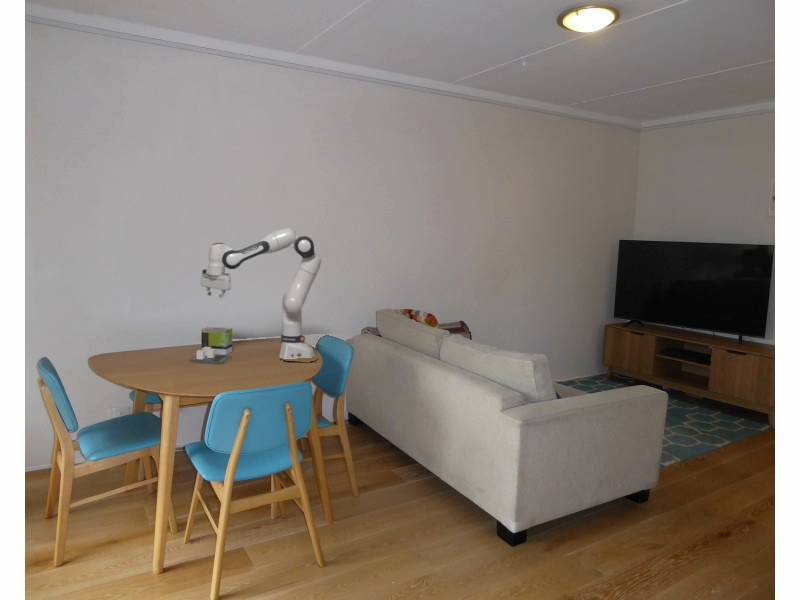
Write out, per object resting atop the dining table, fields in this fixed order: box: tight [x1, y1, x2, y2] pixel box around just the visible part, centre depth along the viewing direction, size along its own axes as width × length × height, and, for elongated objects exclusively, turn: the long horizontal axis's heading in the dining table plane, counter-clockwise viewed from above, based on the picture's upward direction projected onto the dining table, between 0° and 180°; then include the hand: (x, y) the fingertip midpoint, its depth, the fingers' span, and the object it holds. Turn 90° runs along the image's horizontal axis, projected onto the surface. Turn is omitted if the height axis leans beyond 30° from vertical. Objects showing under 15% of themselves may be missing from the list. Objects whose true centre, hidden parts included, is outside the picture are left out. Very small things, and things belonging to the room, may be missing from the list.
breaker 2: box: [203, 347, 211, 356], centre depth 311 cm, size 4×3×4 cm
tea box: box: [200, 326, 233, 356], centre depth 325 cm, size 15×10×15 cm
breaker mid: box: [207, 349, 216, 358], centre depth 306 cm, size 4×3×4 cm
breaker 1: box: [196, 349, 205, 360], centre depth 302 cm, size 4×3×4 cm
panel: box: [189, 354, 232, 365], centre depth 307 cm, size 18×14×2 cm
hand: (215, 296), depth 308 cm, fingers open, 8 cm apart
